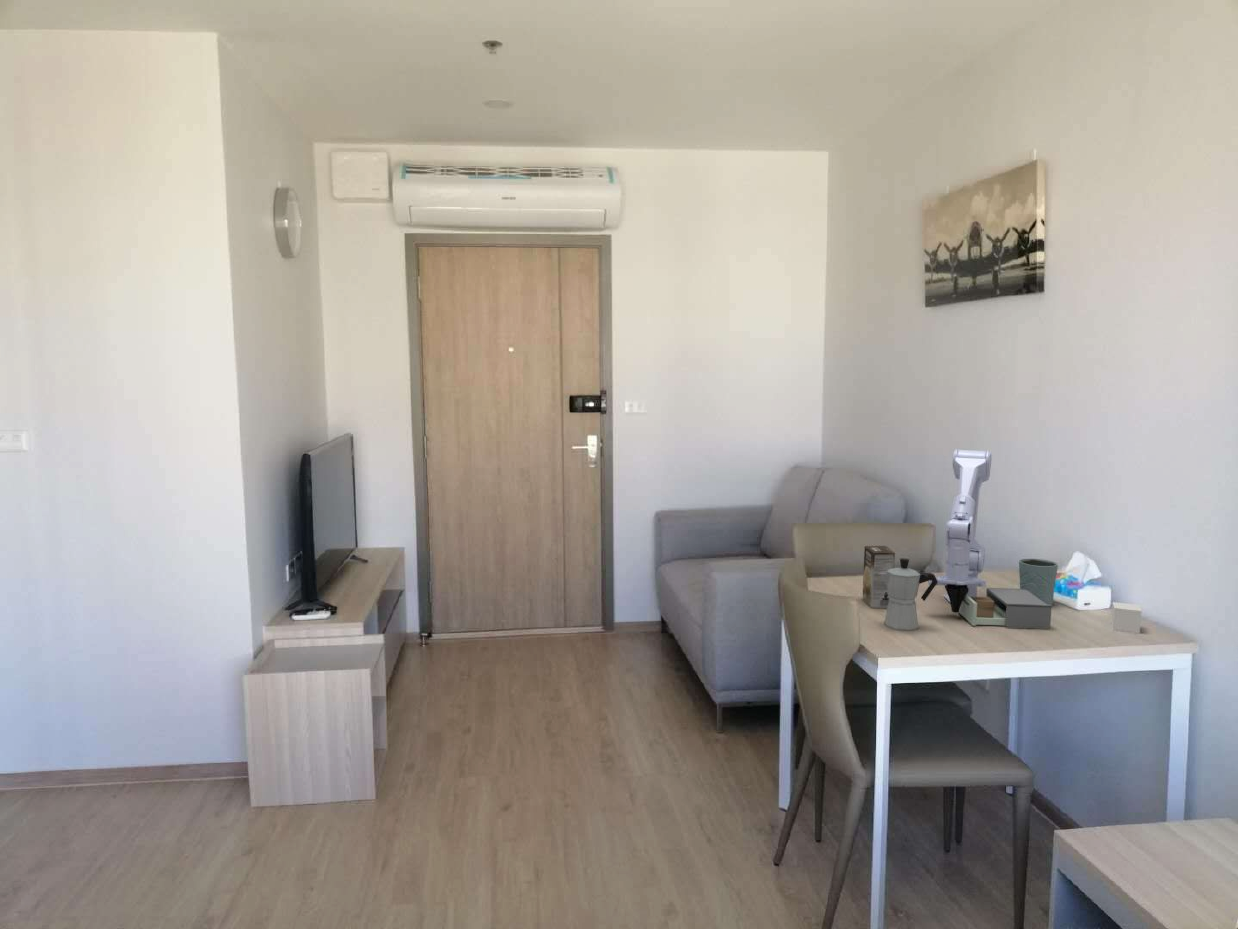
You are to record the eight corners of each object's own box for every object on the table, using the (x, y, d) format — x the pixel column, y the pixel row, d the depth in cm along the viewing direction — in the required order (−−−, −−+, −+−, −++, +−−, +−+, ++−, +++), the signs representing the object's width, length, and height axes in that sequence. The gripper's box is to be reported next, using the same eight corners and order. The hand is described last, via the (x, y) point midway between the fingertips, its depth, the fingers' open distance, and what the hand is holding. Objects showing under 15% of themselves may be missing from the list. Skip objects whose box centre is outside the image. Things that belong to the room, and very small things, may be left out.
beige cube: (1137, 627, 220) (1139, 605, 219) (1139, 633, 214) (1141, 611, 213) (1110, 623, 222) (1112, 601, 221) (1112, 630, 217) (1114, 607, 216)
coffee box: (861, 599, 244) (863, 545, 242) (883, 599, 244) (885, 545, 242) (870, 608, 235) (873, 552, 233) (893, 608, 235) (896, 552, 233)
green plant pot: (1027, 607, 236) (1030, 566, 235) (1009, 597, 246) (1012, 558, 245) (1062, 607, 236) (1065, 566, 235) (1043, 597, 246) (1046, 557, 245)
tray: (953, 607, 235) (954, 587, 234) (994, 609, 234) (995, 588, 233) (972, 625, 219) (973, 603, 218) (1016, 627, 218) (1017, 604, 217)
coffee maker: (879, 629, 216) (882, 561, 214) (873, 619, 225) (876, 554, 223) (939, 632, 214) (942, 564, 212) (931, 622, 223) (934, 556, 221)
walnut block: (970, 612, 229) (971, 596, 228) (987, 613, 228) (988, 597, 228) (975, 617, 224) (976, 601, 224) (993, 618, 224) (994, 601, 223)
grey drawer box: (985, 609, 234) (986, 587, 233) (1026, 611, 233) (1027, 589, 232) (1006, 627, 218) (1007, 604, 217) (1050, 629, 217) (1051, 605, 216)
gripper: (934, 565, 222) (931, 615, 224) (990, 567, 221) (987, 617, 223) (927, 559, 229) (924, 607, 231) (981, 561, 228) (978, 609, 230)
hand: (955, 611), depth 227 cm, fingers closed
